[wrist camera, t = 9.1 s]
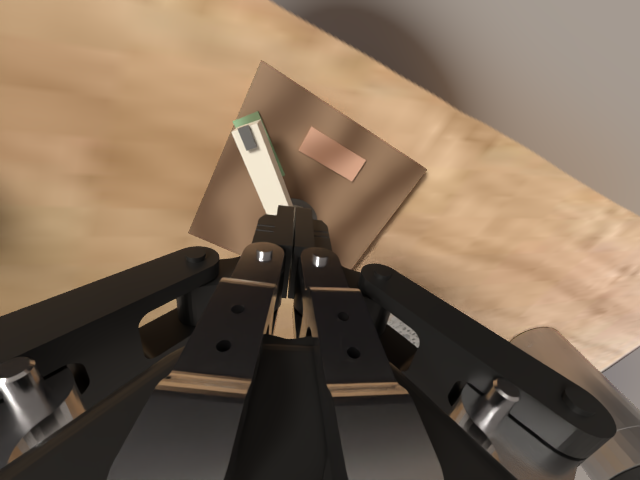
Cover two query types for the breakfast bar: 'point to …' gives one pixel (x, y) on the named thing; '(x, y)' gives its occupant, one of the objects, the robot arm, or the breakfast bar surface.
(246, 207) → the board
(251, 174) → the peg
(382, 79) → the breakfast bar surface
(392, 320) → the mechanical component
